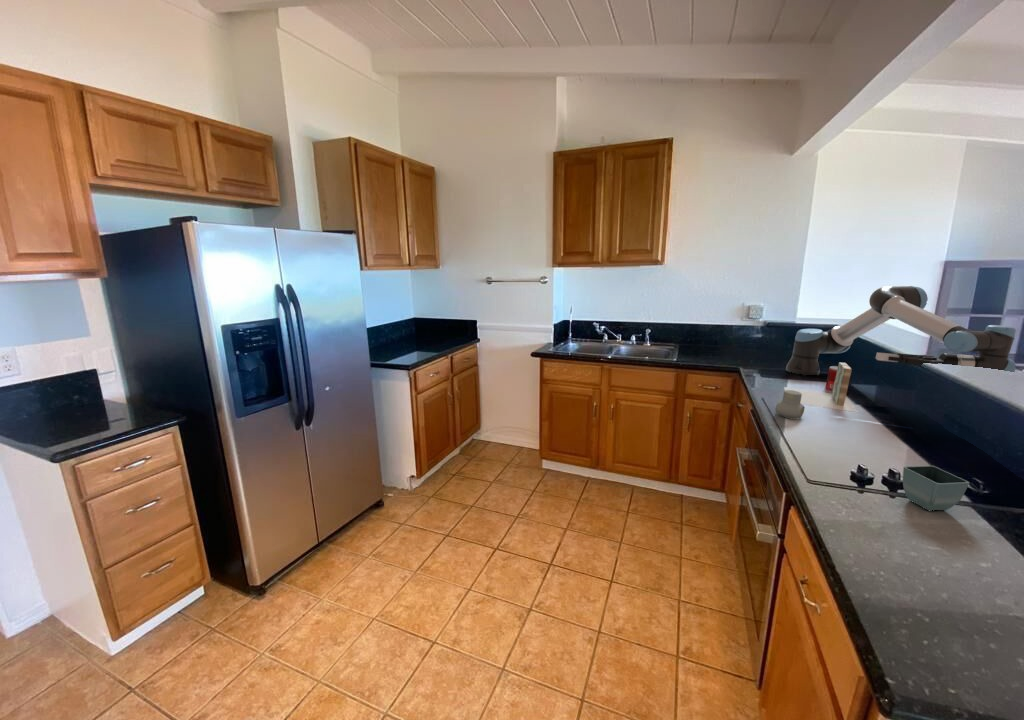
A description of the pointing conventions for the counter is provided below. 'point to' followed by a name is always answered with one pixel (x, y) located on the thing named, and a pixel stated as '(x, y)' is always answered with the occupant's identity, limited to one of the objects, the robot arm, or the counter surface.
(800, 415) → the air freshener
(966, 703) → the counter surface
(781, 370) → the counter surface
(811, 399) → the mat
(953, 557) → the counter surface
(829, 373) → the canned food
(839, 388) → the tile
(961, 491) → the flower pot
